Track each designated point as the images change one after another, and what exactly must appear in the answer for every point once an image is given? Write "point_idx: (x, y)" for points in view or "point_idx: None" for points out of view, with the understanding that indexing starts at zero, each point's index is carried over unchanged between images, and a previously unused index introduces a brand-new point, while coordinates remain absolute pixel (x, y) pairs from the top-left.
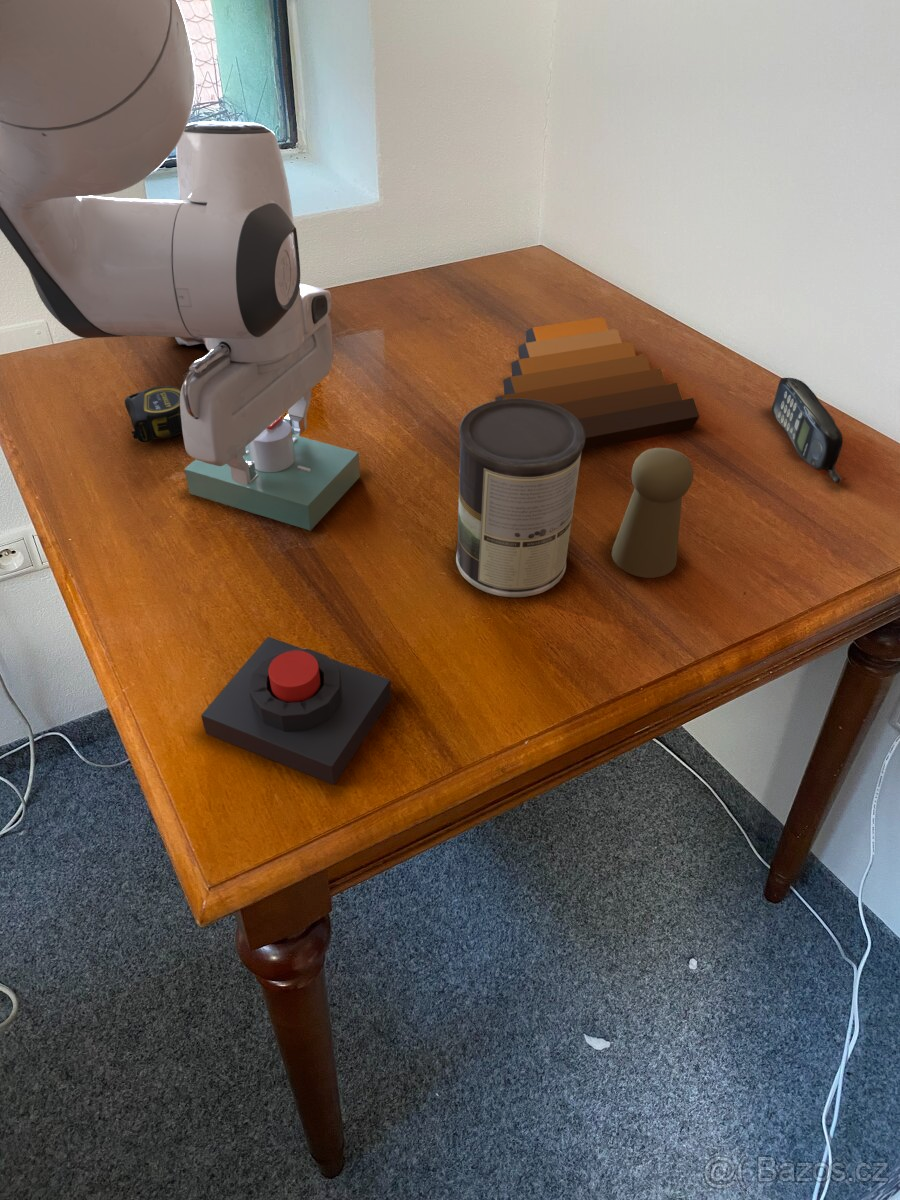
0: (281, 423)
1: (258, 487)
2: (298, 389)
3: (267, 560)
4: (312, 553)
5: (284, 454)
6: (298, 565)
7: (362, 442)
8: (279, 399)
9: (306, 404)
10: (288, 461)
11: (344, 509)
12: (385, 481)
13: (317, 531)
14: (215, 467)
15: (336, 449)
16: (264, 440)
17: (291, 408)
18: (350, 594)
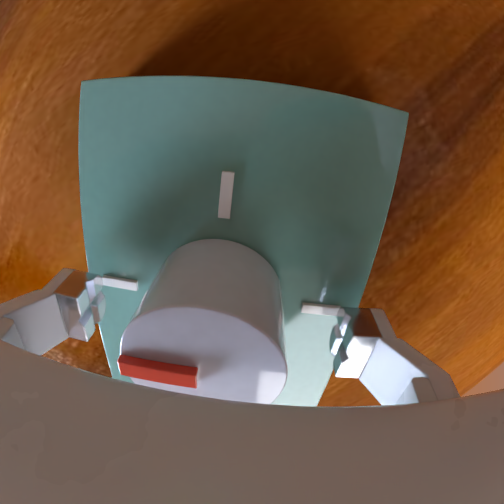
0: (143, 349)
1: (354, 280)
2: (6, 392)
3: (472, 173)
4: (440, 87)
5: (243, 273)
6: (474, 108)
7: (19, 154)
8: (165, 482)
9: (17, 308)
10: (233, 251)
11: (265, 57)
12: (119, 24)
13: (371, 94)
14: (292, 385)
15: (91, 148)
16: (277, 364)
17: (51, 338)
18: (500, 9)
